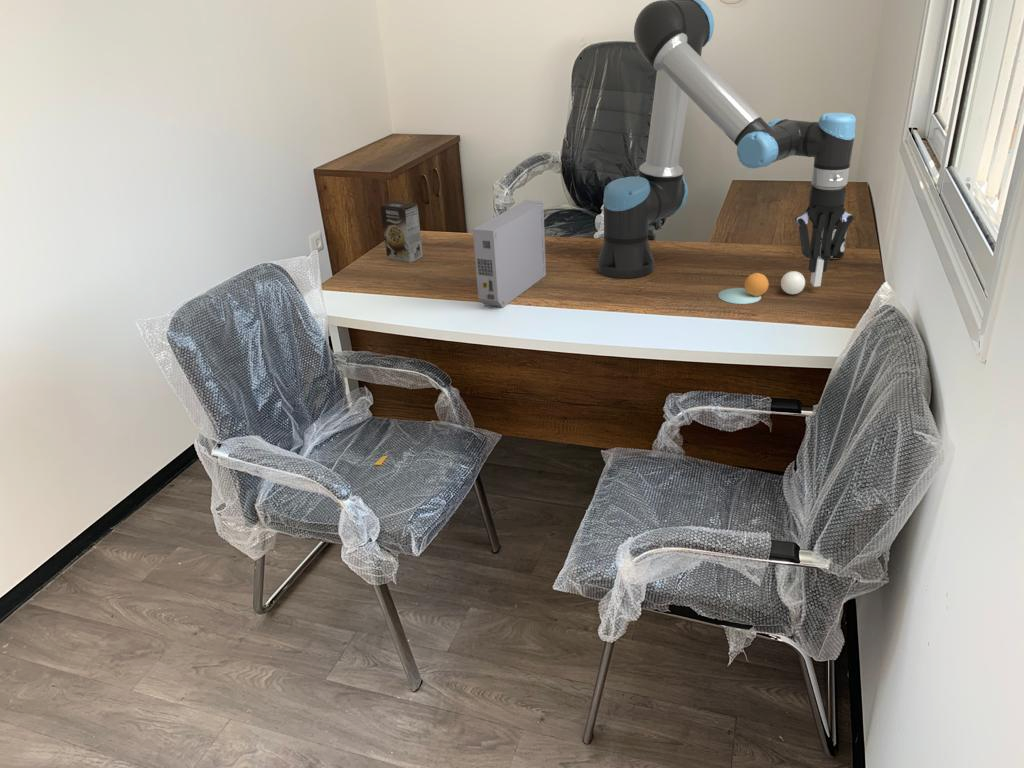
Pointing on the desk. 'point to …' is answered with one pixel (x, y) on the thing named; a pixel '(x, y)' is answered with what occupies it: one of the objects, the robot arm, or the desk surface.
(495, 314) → the desk surface
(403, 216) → the coffee box
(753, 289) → the object ball
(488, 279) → the game console
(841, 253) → the beverage can
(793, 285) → the cue ball
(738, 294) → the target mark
